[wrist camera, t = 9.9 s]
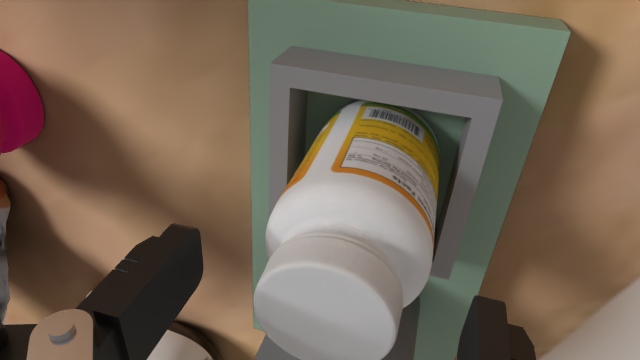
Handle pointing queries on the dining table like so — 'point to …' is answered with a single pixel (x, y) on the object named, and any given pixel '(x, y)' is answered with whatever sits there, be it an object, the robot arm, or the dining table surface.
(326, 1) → the desk organizer tray
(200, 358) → the spread jar
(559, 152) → the dining table surface
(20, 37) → the dining table surface
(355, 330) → the supplement bottle
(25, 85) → the pepper mill
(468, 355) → the robot arm
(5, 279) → the lucky cat figurine
